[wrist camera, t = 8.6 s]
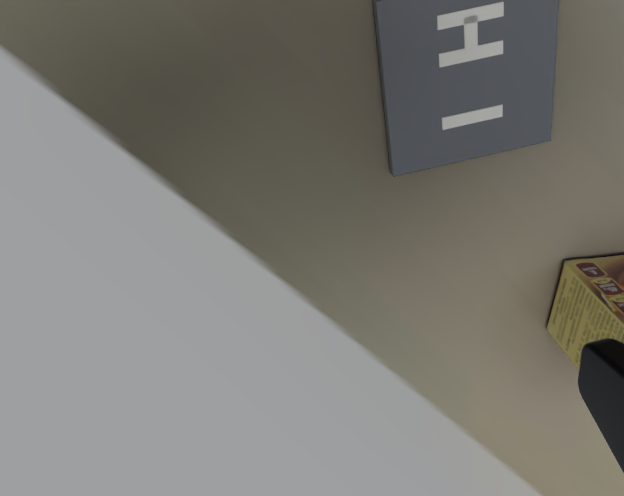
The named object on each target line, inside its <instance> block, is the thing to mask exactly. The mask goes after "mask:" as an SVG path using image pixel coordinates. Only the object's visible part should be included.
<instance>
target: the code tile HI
mask: <svg viewBox="0 0 624 496" xmlns="http://www.w3.org/2000/svg"><path fill="white" fill-rule="evenodd" d="M373 7H374V17H375V26H376V36H377V46H378V56H379V66H380V76H381V85H382V95H383V105H384V115H385V125H386V135H387V144H388V154H389V164H390V173H391V174H392V175H393V177H394V176H399V175H403V174H408V173H412V172H416V171H421V170H425V169H429V168H434V167H438V166H443V165H447V164H451V163H456V162H460V161H464V160H469V159H473V158H478V157H482V156H486V155H491V154H495V153H500V152H504V151H508V150H513V149H517V148H521V147H526V146H530V145H535V144H539V143H543V142H548V141H551V130H552V112H553V95H554V77H555V60H556V43H557V25H558V8H559V0H373Z"/></svg>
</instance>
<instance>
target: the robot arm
mask: <svg viewBox="0 0 624 496" xmlns="http://www.w3.org/2000/svg"><path fill="white" fill-rule="evenodd" d="M578 386H579V391H580V393H581V396H582V398H583V400H584V402H585V403H586V405H587V407H588V409H589V411H590V413H591V414H592V416H593V418H594V420H595V422H596V423H597V425H598V427H599V429H600V431H601V433H602V434H603V436H604V438H605V440H606V442H607V443H608V445H609V447H610V449H611V451H612V453H613V454H614V456H615V458H616V460H617V462H618V463H619V465H620V467H621V469H622V471H623V472H624V343H622V342H620V341H618V340H615V339H612V338H605V339H601V340H597V341H593V342H589V343H586V344H585V345H584V346H583V348H582V351H581V359H580V368H579V377H578Z"/></svg>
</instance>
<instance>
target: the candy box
mask: <svg viewBox="0 0 624 496" xmlns="http://www.w3.org/2000/svg"><path fill="white" fill-rule="evenodd" d="M547 331H548V332H549V333H550V334H551V336H552V337H553V338H554V340H555V341H556V342H557V343H558V345H559V346H560V347H561V349H562V350H563V351H564V352H565V353H566V355H567V356H568V357H569V359H570V360H571V361H572V362H573V364H574V365H575V366H576V367H577V369H578V370H579V368H580V359H581V351H582V348H583V346H584V345H585V344H586V343H589V342H593V341H597V340H601V339H605V338H612V339H615V340H618V341H620V342H622V343H624V255H618V256H610V257H600V258H593V259H584V258H581V259H571V260H565V261H564V264H563V268H562V273H561V277H560V282H559V285H558V289H557V293H556V296H555V300H554V303H553V307H552V311H551V315H550V319H549V322H548V326H547Z"/></svg>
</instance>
